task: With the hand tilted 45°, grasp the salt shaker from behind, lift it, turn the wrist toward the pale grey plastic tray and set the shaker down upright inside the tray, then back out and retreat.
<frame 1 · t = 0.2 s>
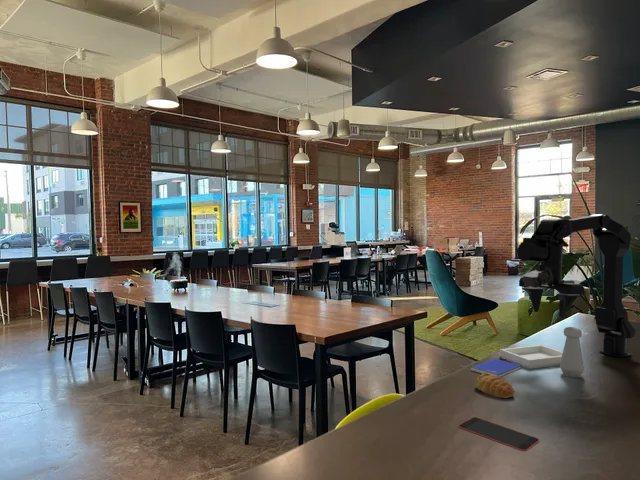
hand: (548, 314, 135), 14 cm above the counter, tool pointing down, fingers open, 9 cm apart
tray: (535, 360, 139), on the counter
salt shaker: (571, 375, 125), on the counter
hard drive: (495, 371, 131), on the counter
smartphone: (497, 436, 91), on the counter
pastry: (494, 392, 113), on the counter
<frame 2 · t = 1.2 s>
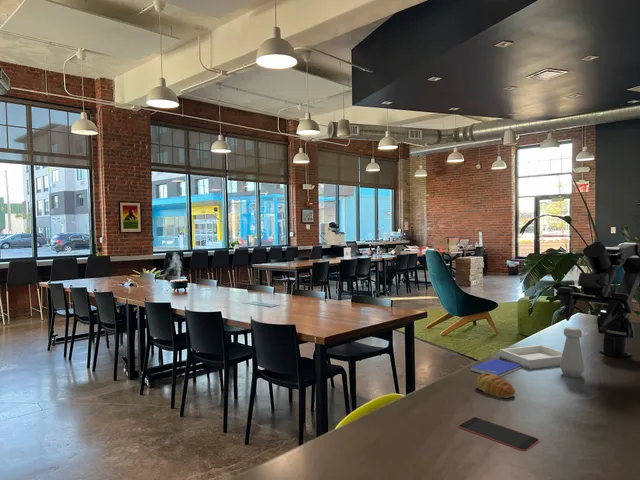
hand: (583, 322, 129), 13 cm above the counter, tool tilted 45°, fingers open, 9 cm apart
nothing on the counter moved.
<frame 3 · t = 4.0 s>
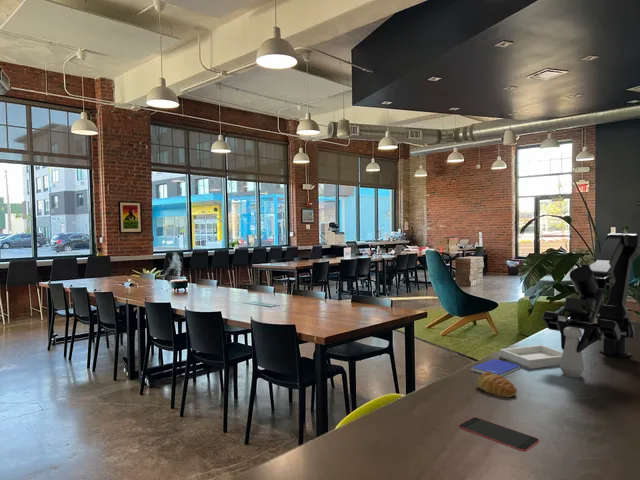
hand: (569, 350, 124), 7 cm above the counter, tool tilted 45°, fingers closed on salt shaker, 3 cm apart
salt shaker: (571, 375, 125), on the counter, touching gripper
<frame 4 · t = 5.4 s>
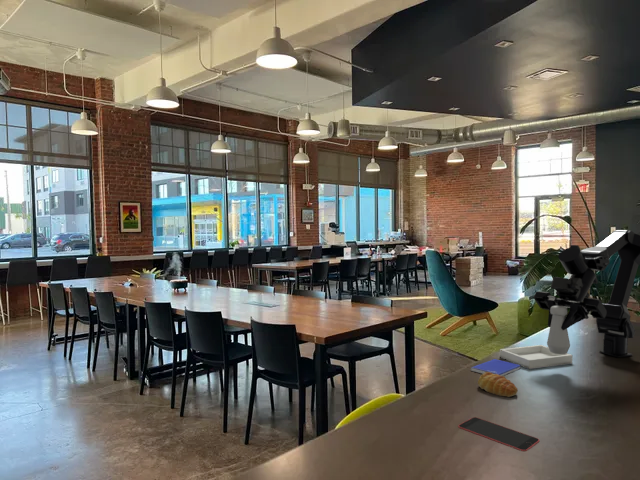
hand: (555, 327, 128), 12 cm above the counter, tool tilted 45°, fingers closed on salt shaker, 3 cm apart
salt shaker: (558, 352, 129), point 5 cm above the counter, touching gripper
when the fingers open (9 cm above the counter, at t = 7.3 s): salt shaker stays where it is, resting on tray.
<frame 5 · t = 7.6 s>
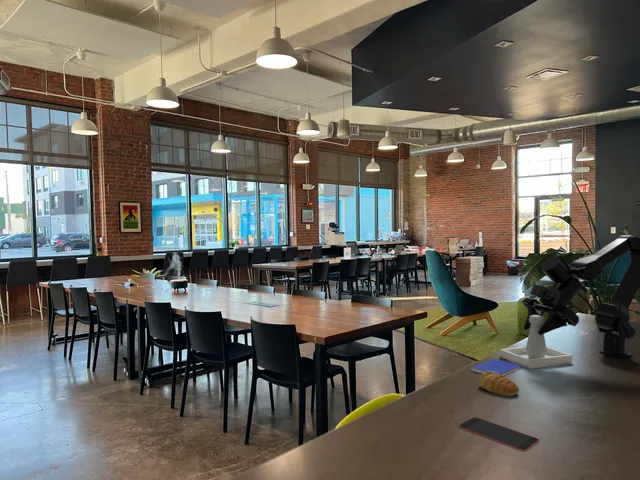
hand: (531, 331, 138), 9 cm above the counter, tool tilted 45°, fingers open, 6 cm apart
salt shaker: (536, 359, 139), resting on tray
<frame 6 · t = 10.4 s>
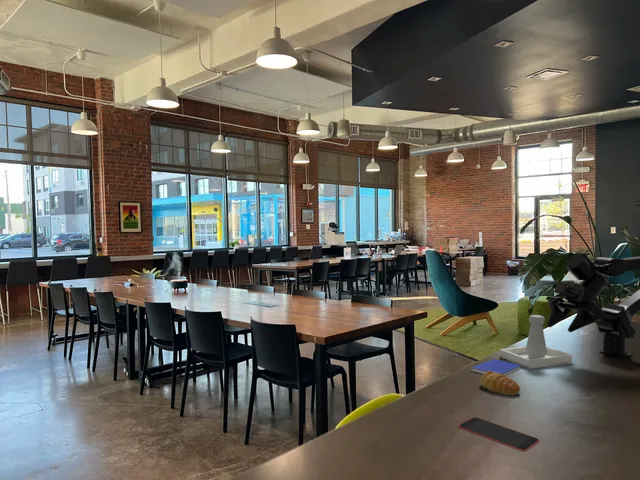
hand: (558, 328, 140), 9 cm above the counter, tool tilted 45°, fingers open, 9 cm apart
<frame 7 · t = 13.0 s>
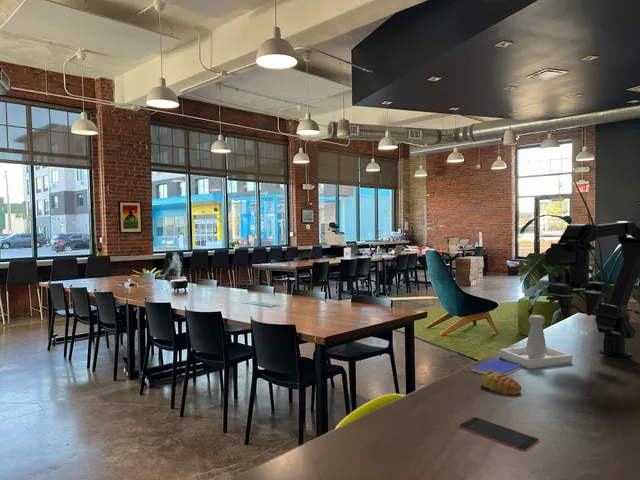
hand: (577, 316, 140), 13 cm above the counter, tool pointing down, fingers open, 9 cm apart
at the end: salt shaker 0.2 cm off-centre on the tray, point 0.4 cm above the tray's base; salt shaker tilted 0°; the gripper is holding nothing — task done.
